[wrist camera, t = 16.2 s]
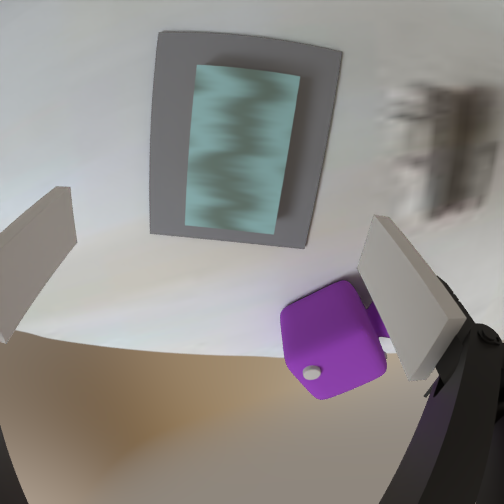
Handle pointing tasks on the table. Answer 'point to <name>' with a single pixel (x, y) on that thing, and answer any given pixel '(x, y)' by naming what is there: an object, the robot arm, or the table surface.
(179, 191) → the mat
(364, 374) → the toy camera
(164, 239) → the table surface
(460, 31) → the table surface
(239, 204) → the tile
